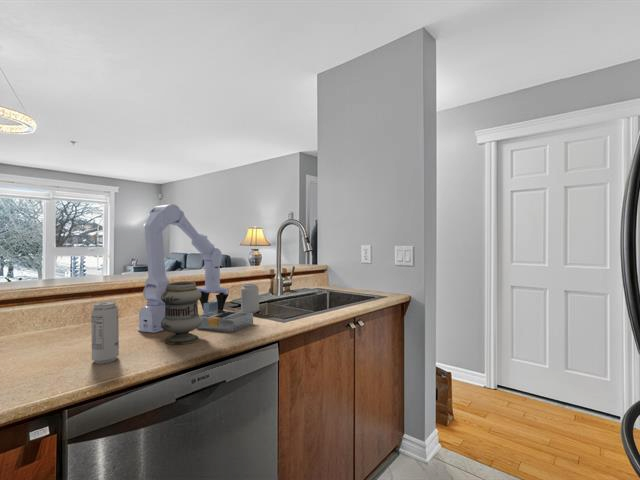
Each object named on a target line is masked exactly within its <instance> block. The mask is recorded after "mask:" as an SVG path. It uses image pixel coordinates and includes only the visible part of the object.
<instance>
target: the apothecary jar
mask: <svg viewBox="0 0 640 480" xmlns="http://www.w3.org/2000/svg"><path fill="white" fill-rule="evenodd" d="M197 288H198V287H197V285H196V282H195V281H189V280H186V281H183V280H182V281H175V282H170V283H168V284H167V286H166V290H165V291H164V292H163V293H162V295H161V300H162V301H163V302H165V317H164V318H163V319H162V321H161V327H162V328H163V329H164V330H163V331H165V332H166V333H167V332H168V333H171V334H173V335H171V336H168V337H167V338H165V340H164V343H165V344H167V345H171V346H172V345H174V346H175V345H176V346H177V345H188V344H191V343H195V342H197V341H198V340H199V339H200V338H199V336H198V335H197V334H193V333H191V332H193V331H195V330H197V329H198V327H199V326H200V325H201V324H202V317H201V316H200V315H201V314H199V310H198V309H199V308H198V306H199V305H198V303H199V302H198V301H200V300H199V299H200V298H201V291H200V290H199V289H197Z"/></svg>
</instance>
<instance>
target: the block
mask: <svg viewBox="0 0 640 480" xmlns="http://www.w3.org/2000/svg"><path fill="white" fill-rule="evenodd" d="M203 310H204V311H203ZM215 310H218V302H217V299H214V300H211V301H208V302H207V303H203V309H202V311H203V314H206V313H209V312H212V311H215Z"/></svg>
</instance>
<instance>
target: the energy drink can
mask: <svg viewBox="0 0 640 480" xmlns="http://www.w3.org/2000/svg"><path fill="white" fill-rule="evenodd" d="M116 304H117V303H116V302H115V301H102V302H95V303H94V304H93V308H92V309H91V312H90V313H91V316H90V317H91V322H90V323H91V360H92V361H93V362H94V363H95V364H98V365H99V364H100V365H102V364H108V363H112V362H114V361H116V360H117V357H118V356H119V355H120V351H119V349H120V348H119V347H120V346H119V344H120V341H119V337H120V336H119V333H120V332H119V331H120V330H119V307H118V305H116Z"/></svg>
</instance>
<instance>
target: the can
mask: <svg viewBox="0 0 640 480" xmlns="http://www.w3.org/2000/svg"><path fill="white" fill-rule="evenodd" d="M259 294H260V289H259V286H258V284H257V283H244V284H242V287H240V312H248V313H253V314H256V313H257V312H259V310H260V307H259V305H260V295H259Z"/></svg>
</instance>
